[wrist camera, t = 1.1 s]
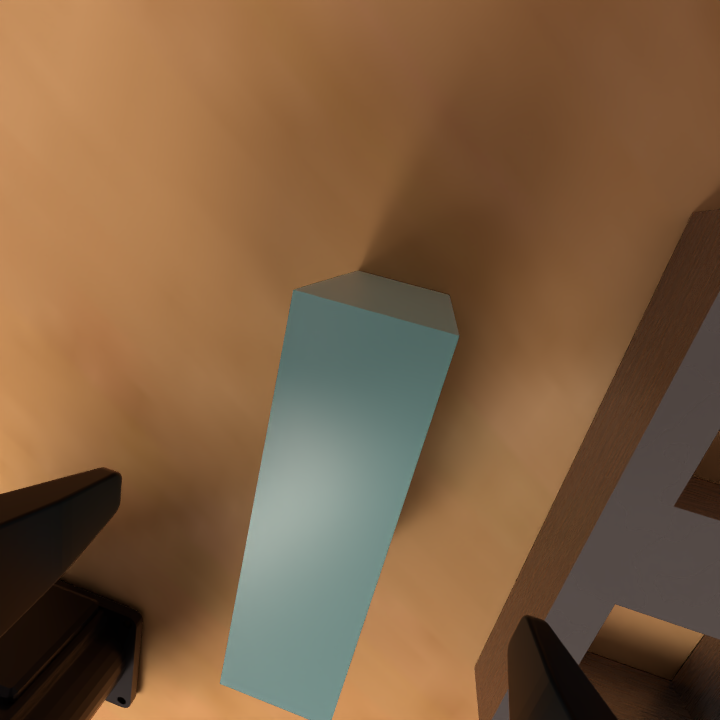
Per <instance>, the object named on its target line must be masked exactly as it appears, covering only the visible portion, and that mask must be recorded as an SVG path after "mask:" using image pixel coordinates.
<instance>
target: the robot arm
mask: <svg viewBox="0 0 720 720" xmlns="http://www.w3.org/2000/svg"><path fill="white" fill-rule="evenodd" d="M121 484H122V476H121V474H120V473H119V472H117V471H114V470H111V469H108V468H104V467H103V468H97V469H94V470H90V471H86V472H82V473H78V474H75V475H71V476H67V477H63V478H60V479H56V480H52V481H48V482H44V483H41V484H37V485H33V486H29V487H26V488H22V489H18V490H14V491H10V492H7V493H3V494H0V720H91V719H92V717H93V716H94V714H95V713H96V712H97V710H98V709H99V708H100V706H101V705H102V704H103V702H104V701H105V700H106V701H108V702H111V703H113V704H116V705H118V706H120V707H123V708H128V707H129V706H130V705H131V703H132V702H133V700H134V699H135V697H136V690H137V678H138V667H139V656H140V644H141V633H142V622H143V620H142V616H141V614H140V613H139V612H138V611H136V610H134V609H132V608H129V607H127V606H124V605H122V604H119V603H116V602H114V601H111V600H109V599H106V598H104V597H101V596H98V595H96V594H93V593H91V592H88V591H86V590H83V589H80V588H78V587H75V586H73V585H70V584H68V583H65V582H62V581H60V580H58V579H59V578H60V577H61V576H62V575H63V574H64V573H65V572H66V571H67V570H68V569H69V567H70V566H71V565H72V564H73V563H74V562H75V560H76V559H77V558H78V557H79V556H80V555H81V553H82V552H83V551H84V550H85V549H86V547H87V546H88V545H89V544H90V543H91V542H92V540H93V539H94V538H95V537H96V536H97V534H98V533H99V532H100V531H101V530H102V529H103V527H104V526H105V525H106V524H107V523H108V521H109V520H110V519H111V518H112V517H113V516H114V514H115V513H116V511H117V510H118V508H119V505H120V500H121ZM507 665H508V693H509V720H618V718H617V717H616V716H615V714H614V713H613V712H612V710H611V709H610V708H609V706H608V705H607V703H606V702H605V701H604V699H603V698H602V697H601V695H600V694H599V692H598V691H597V690H596V688H595V687H594V686H593V684H592V683H591V681H590V680H589V679H588V677H587V676H586V675H585V673H584V672H583V671H582V669H581V668H580V666H579V665H578V664H577V662H576V661H575V660H574V658H573V657H572V655H571V654H570V653H569V651H568V650H567V649H566V647H565V646H564V644H563V643H562V642H561V640H560V639H559V638H558V636H557V635H556V634H555V632H554V631H553V629H552V628H551V627H550V625H549V624H548V623H547V622H546V621H544V620H542V619H539V618H536V617H534V616H531V615H524V616H522V618H521V619H520V621H519V623H518V625H517V627H516V629H515V631H514V633H513V635H512V637H511V639H510V642H509V645H508V650H507Z"/></svg>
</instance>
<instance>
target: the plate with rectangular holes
mask: <svg viewBox="0 0 720 720" xmlns="http://www.w3.org/2000/svg"><path fill="white" fill-rule="evenodd" d="M719 430H720V209H716V210H709V211H702V212H694V213H693V214H692V216H691V218H690V220H689V222H688V224H687V226H686V228H685V230H684V232H683V234H682V237H681V239H680V241H679V243H678V245H677V247H676V249H675V251H674V253H673V255H672V257H671V259H670V262H669V264H668V266H667V268H666V270H665V272H664V274H663V276H662V278H661V280H660V282H659V284H658V287H657V289H656V291H655V293H654V295H653V297H652V299H651V301H650V303H649V305H648V307H647V309H646V312H645V314H644V316H643V318H642V320H641V322H640V324H639V326H638V328H637V330H636V332H635V334H634V337H633V339H632V341H631V343H630V345H629V347H628V349H627V351H626V353H625V355H624V357H623V360H622V362H621V364H620V366H619V368H618V370H617V372H616V374H615V376H614V378H613V380H612V382H611V385H610V387H609V389H608V391H607V393H606V395H605V397H604V399H603V401H602V403H601V405H600V407H599V410H598V412H597V414H596V416H595V418H594V420H593V422H592V424H591V426H590V428H589V430H588V432H587V435H586V437H585V439H584V441H583V443H582V445H581V447H580V449H579V451H578V453H577V455H576V457H575V460H574V462H573V464H572V466H571V468H570V470H569V472H568V474H567V476H566V478H565V480H564V482H563V485H562V487H561V489H560V491H559V493H558V495H557V497H556V499H555V501H554V503H553V505H552V508H551V510H550V512H549V514H548V516H547V518H546V520H545V522H544V524H543V526H542V528H541V530H540V533H539V535H538V537H537V539H536V541H535V543H534V545H533V547H532V549H531V551H530V553H529V555H528V558H527V560H526V562H525V564H524V566H523V568H522V570H521V572H520V574H519V576H518V578H517V580H516V583H515V585H514V587H513V589H512V591H511V593H510V595H509V597H508V599H507V601H506V603H505V605H504V608H503V610H502V612H501V614H500V616H499V618H498V620H497V622H496V624H495V626H494V628H493V630H492V633H491V635H490V637H489V639H488V641H487V643H486V645H485V647H484V649H483V651H482V653H481V656H480V658H479V660H478V662H477V664H476V666H475V679H476V690H477V702H478V713H479V720H509V693H508V665H507V650H508V645H509V642H510V639H511V637H512V635H513V633H514V631H515V629H516V627H517V625H518V623H519V621H520V619H521V618H522V616H524V615H531V616H534V617H536V618H539V619H542V620H544V621H546V622H547V623H548V624H549V625H550V627H551V628H552V629H553V631H554V632H555V634H556V635H557V636H558V638H559V639H560V640H561V642H562V643H563V644H564V646H565V647H566V649H567V650H568V651H569V653H570V654H571V655H572V657H573V658H574V660H575V661H576V662H577V664H578V665H579V666H580V668H581V669H582V671H583V672H584V673H585V675H586V676H587V677H588V679H589V680H590V681H591V683H592V684H593V686H594V687H595V688H596V690H597V691H598V692H599V694H600V695H601V697H602V698H603V699H604V701H605V702H606V703H607V705H608V706H609V708H610V709H611V710H612V712H613V713H614V714H615V716H616V717H617V718H618V720H720V485H718V484H715V483H712V482H708V481H705V480H702V479H698V478H695V477H691V476H692V475H693V473H694V471H695V470H696V468H697V466H698V465H699V463H700V461H701V460H702V458H703V456H704V455H705V453H706V451H707V450H708V448H709V446H710V445H711V443H712V441H713V440H714V438H715V436H716V435H717V433H718V431H719ZM615 604H616V605H619V606H622V607H625V608H628V609H631V610H634V611H637V612H640V613H643V614H646V615H649V616H652V617H655V618H658V619H661V620H664V621H667V622H670V623H672V624H675V625H678V626H681V627H684V628H687V629H690V630H693V631H696V632H699V633H702V634H705V635H704V637H703V638H702V640H701V641H700V642H699V644H698V645H697V647H696V648H695V649H694V651H693V652H692V653H691V655H690V656H689V658H688V659H687V660H686V662H685V663H684V665H683V666H682V667H681V669H680V670H679V672H678V673H677V674H676V676H675V677H674V678H673V680H672V681H669V680H666V679H663V678H660V677H658V676H655V675H652V674H649V673H646V672H643V671H641V670H638V669H635V668H632V667H629V666H626V665H624V664H621V663H618V662H615V661H612V660H610V659H607V658H604V657H601V656H598V655H595V654H593V653H590V652H587V650H588V648H589V647H590V645H591V643H592V642H593V640H594V638H595V637H596V635H597V633H598V632H599V630H600V628H601V627H602V625H603V623H604V622H605V620H606V618H607V617H608V615H609V613H610V612H611V610H612V608H613V607H614V605H615Z"/></svg>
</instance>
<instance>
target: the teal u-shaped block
mask: <svg viewBox="0 0 720 720" xmlns="http://www.w3.org/2000/svg"><path fill="white" fill-rule="evenodd" d="M458 339H459V332H458V328H457V324H456V320H455V316H454V312H453V308H452V304H451V299H450V295H448V294H444V293H440V292H437V291H433V290H429V289H425V288H422V287H418V286H414V285H410V284H407V283H403V282H399V281H395V280H392V279H388V278H384V277H381V276H377V275H373V274H369V273H366V272H362V271H355V272H351V273H348V274H344V275H341V276H338V277H334V278H331V279H328V280H324V281H321V282H317V283H314V284H311V285H307V286H304V287H301V288H297V289H294V290H293V295H292V300H291V305H290V311H289V316H288V321H287V327H286V332H285V337H284V343H283V348H282V353H281V359H280V364H279V370H278V375H277V380H276V386H275V391H274V396H273V402H272V407H271V412H270V418H269V423H268V428H267V434H266V439H265V445H264V450H263V455H262V461H261V466H260V471H259V477H258V482H257V487H256V493H255V498H254V504H253V509H252V514H251V520H250V525H249V530H248V536H247V541H246V546H245V552H244V557H243V562H242V568H241V573H240V579H239V584H238V589H237V595H236V600H235V605H234V611H233V616H232V621H231V627H230V632H229V637H228V643H227V648H226V654H225V659H224V664H223V670H222V675H221V680H220V684H222V685H224V686H227V687H229V688H232V689H234V690H237V691H239V692H242V693H244V694H247V695H249V696H252V697H254V698H257V699H259V700H262V701H264V702H267V703H269V704H272V705H274V706H277V707H279V708H282V709H284V710H287V711H289V712H292V713H294V714H297V715H299V716H302V717H304V718H307V719H309V720H332V717H333V714H334V711H335V708H336V705H337V702H338V699H339V696H340V693H341V690H342V687H343V684H344V681H345V678H346V675H347V672H348V669H349V666H350V663H351V660H352V657H353V654H354V651H355V648H356V645H357V642H358V639H359V636H360V633H361V630H362V627H363V624H364V621H365V618H366V615H367V612H368V609H369V606H370V603H371V600H372V597H373V594H374V591H375V588H376V585H377V582H378V579H379V576H380V573H381V570H382V567H383V564H384V561H385V558H386V555H387V552H388V549H389V546H390V543H391V540H392V537H393V534H394V531H395V528H396V525H397V522H398V519H399V516H400V513H401V510H402V507H403V504H404V501H405V498H406V495H407V492H408V489H409V486H410V483H411V480H412V477H413V474H414V471H415V468H416V465H417V462H418V459H419V456H420V453H421V450H422V447H423V444H424V441H425V438H426V435H427V432H428V429H429V426H430V423H431V420H432V417H433V414H434V411H435V408H436V405H437V402H438V399H439V396H440V393H441V390H442V387H443V384H444V381H445V378H446V375H447V372H448V369H449V366H450V363H451V360H452V357H453V354H454V351H455V348H456V345H457V342H458Z"/></svg>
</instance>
